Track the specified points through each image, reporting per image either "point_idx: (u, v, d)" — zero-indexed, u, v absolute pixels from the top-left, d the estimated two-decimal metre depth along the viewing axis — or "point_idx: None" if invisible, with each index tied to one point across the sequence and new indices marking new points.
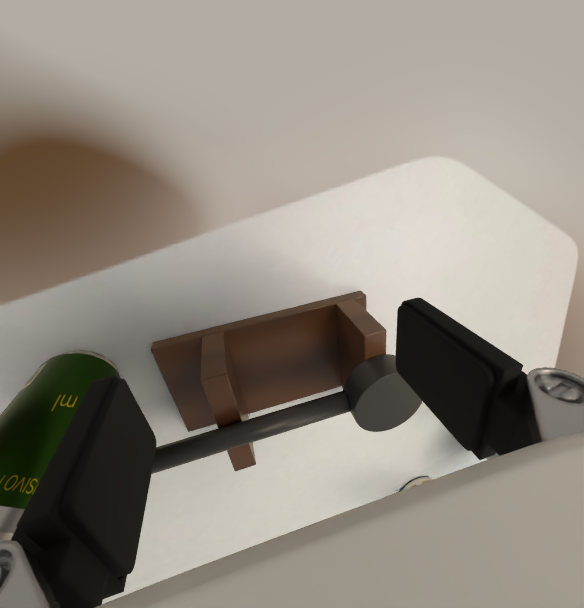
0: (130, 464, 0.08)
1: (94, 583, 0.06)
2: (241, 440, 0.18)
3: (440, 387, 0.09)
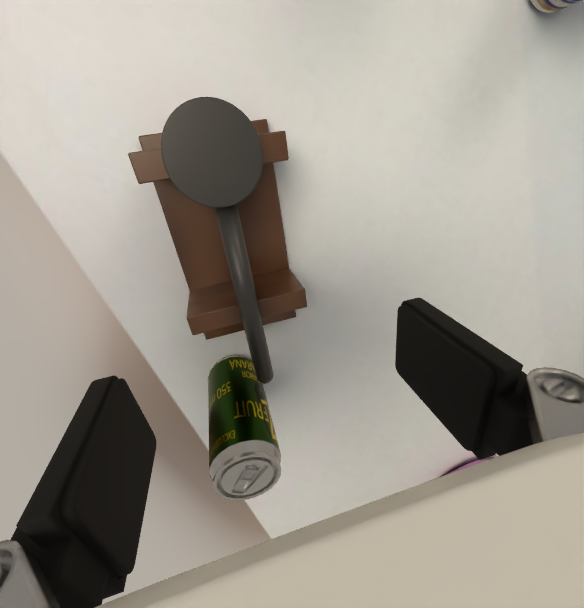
0: (130, 464, 0.08)
1: (94, 583, 0.06)
2: (248, 314, 0.21)
3: (440, 387, 0.09)
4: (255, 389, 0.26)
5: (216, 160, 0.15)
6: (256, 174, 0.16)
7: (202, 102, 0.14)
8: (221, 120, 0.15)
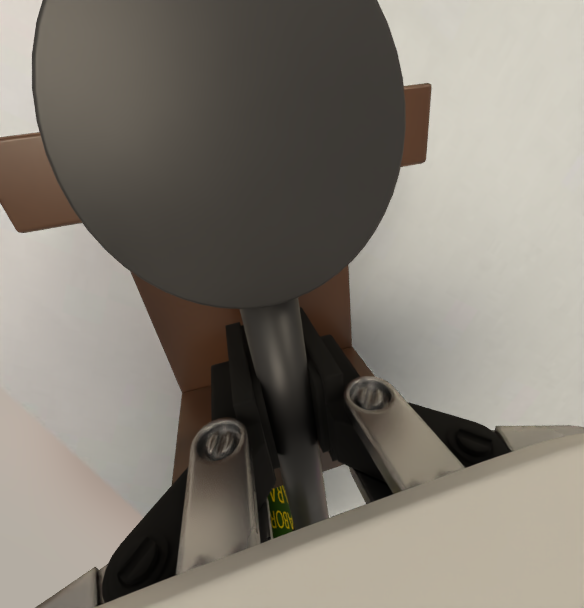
0: None
1: (270, 462, 0.07)
2: (304, 496, 0.10)
3: None
4: None
5: (254, 166, 0.04)
6: (375, 209, 0.05)
7: None
8: (282, 6, 0.04)
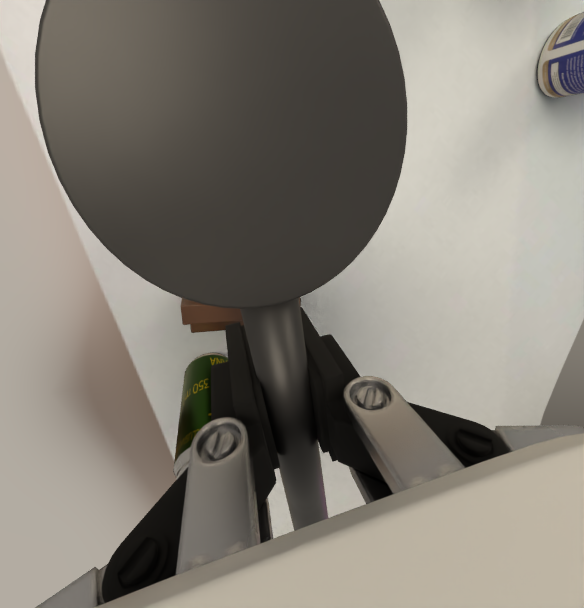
0: None
1: (270, 462, 0.07)
2: (303, 496, 0.10)
3: None
4: None
5: (256, 166, 0.04)
6: (376, 209, 0.05)
7: None
8: (284, 6, 0.04)
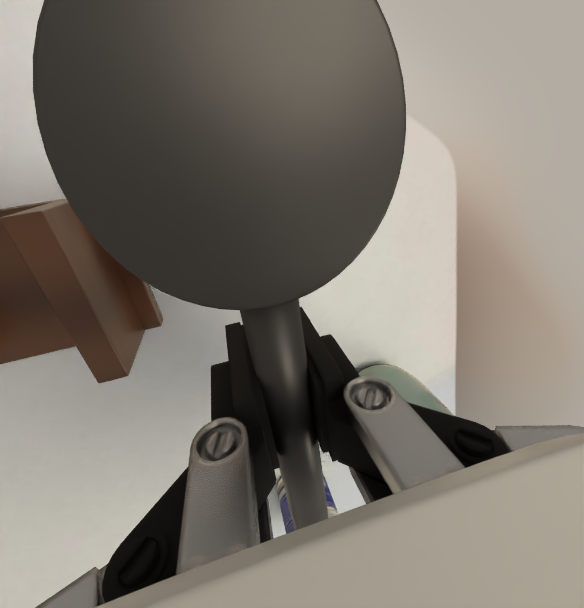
0: None
1: (270, 462, 0.07)
2: (304, 497, 0.10)
3: None
4: None
5: (255, 167, 0.04)
6: (375, 210, 0.05)
7: None
8: (283, 7, 0.04)
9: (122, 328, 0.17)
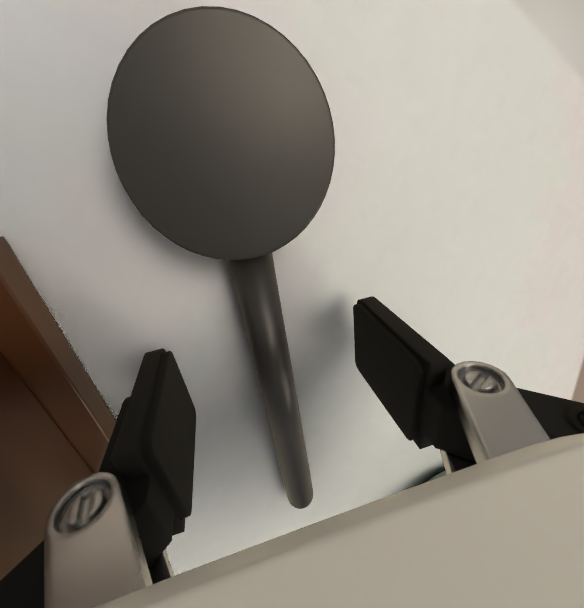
0: (181, 426, 0.09)
1: (166, 517, 0.07)
2: (283, 424, 0.12)
3: (387, 381, 0.09)
4: None
5: (236, 163, 0.07)
6: (318, 192, 0.08)
7: (207, 18, 0.06)
8: (250, 69, 0.06)
9: (21, 540, 0.08)
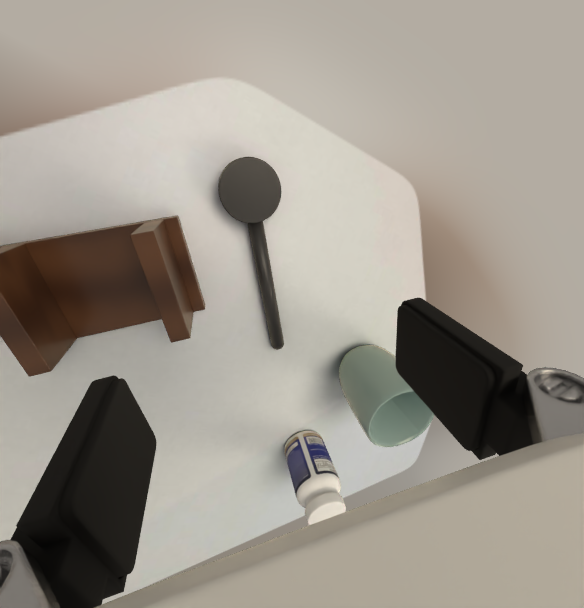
0: (130, 464, 0.08)
1: (94, 583, 0.06)
2: (268, 296, 0.29)
3: (440, 387, 0.09)
4: None
5: (252, 194, 0.25)
6: (276, 202, 0.25)
7: (245, 160, 0.23)
8: (256, 170, 0.24)
9: (185, 307, 0.25)
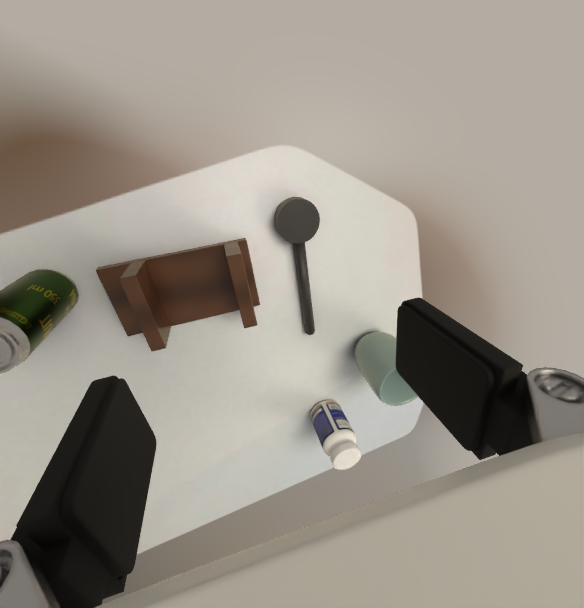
0: (130, 464, 0.08)
1: (94, 583, 0.06)
2: (305, 295, 0.40)
3: (440, 387, 0.09)
4: (57, 323, 0.30)
5: (299, 223, 0.35)
6: (316, 228, 0.36)
7: (296, 201, 0.34)
8: (303, 207, 0.34)
9: None
